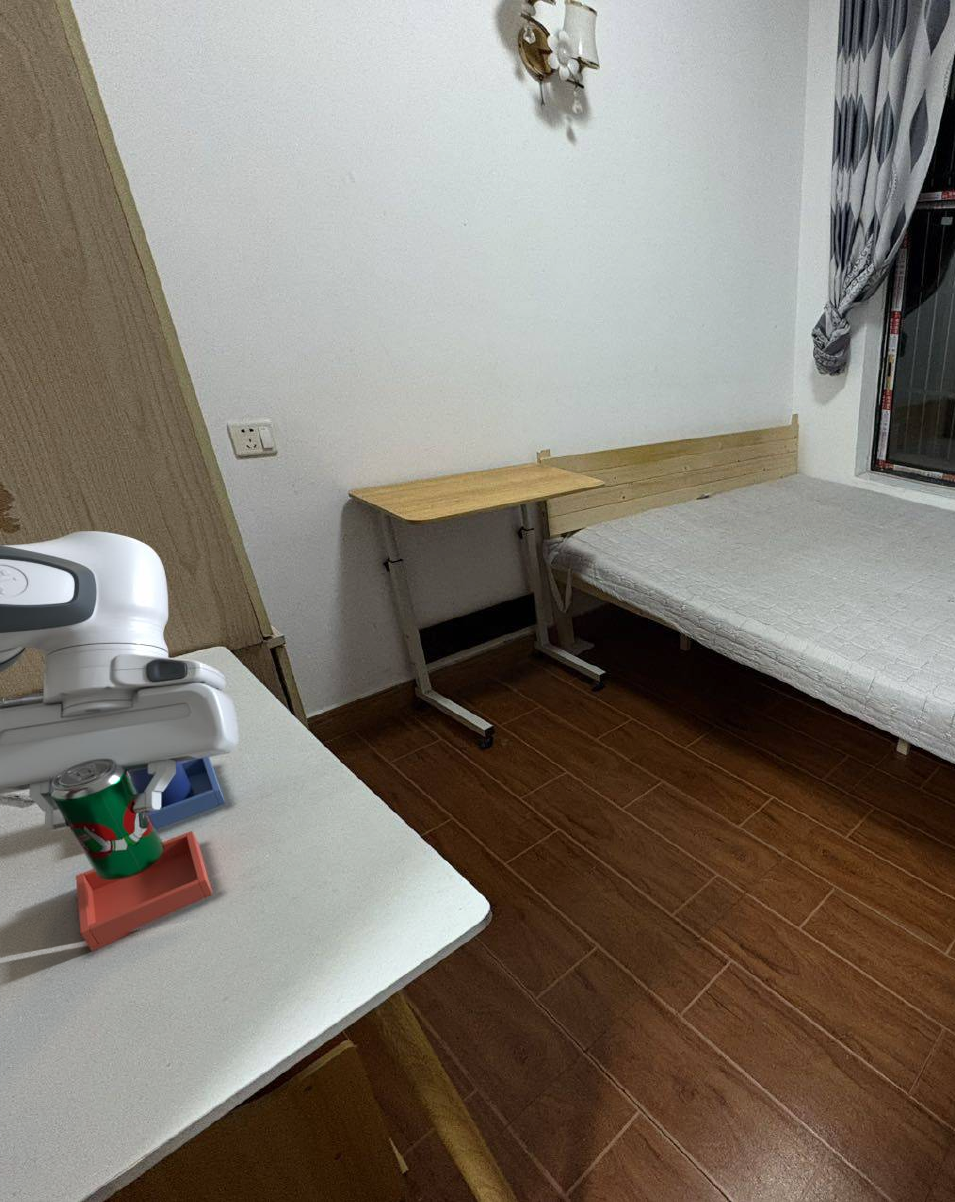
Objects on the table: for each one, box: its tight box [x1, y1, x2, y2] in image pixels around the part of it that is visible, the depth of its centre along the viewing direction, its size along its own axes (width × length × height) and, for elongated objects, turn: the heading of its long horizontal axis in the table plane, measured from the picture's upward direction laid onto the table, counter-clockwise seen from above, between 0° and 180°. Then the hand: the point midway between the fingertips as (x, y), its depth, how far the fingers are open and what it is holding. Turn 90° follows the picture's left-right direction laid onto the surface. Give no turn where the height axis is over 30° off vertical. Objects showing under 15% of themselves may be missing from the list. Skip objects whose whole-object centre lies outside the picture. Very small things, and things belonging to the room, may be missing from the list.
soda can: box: [51, 758, 164, 880], centre depth 64 cm, size 5×5×12 cm
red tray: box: [75, 830, 213, 952], centre depth 68 cm, size 9×9×3 cm
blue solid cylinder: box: [127, 762, 194, 812], centre depth 79 cm, size 4×4×7 cm
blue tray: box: [130, 757, 226, 830], centre depth 80 cm, size 9×9×3 cm
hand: (105, 819), depth 64 cm, fingers closed on soda can, 5 cm apart
